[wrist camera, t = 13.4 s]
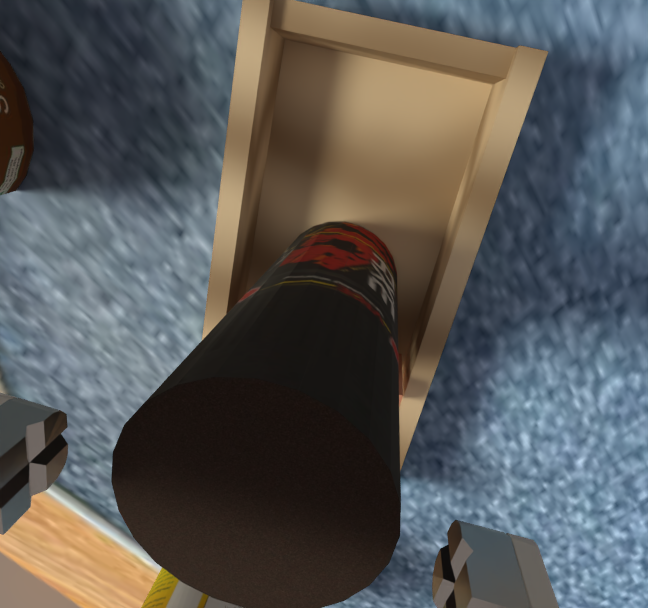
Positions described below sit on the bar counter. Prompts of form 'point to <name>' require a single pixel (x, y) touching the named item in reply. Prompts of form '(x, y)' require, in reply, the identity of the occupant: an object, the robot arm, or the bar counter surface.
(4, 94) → the food container
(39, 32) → the bar counter surface
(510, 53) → the tray
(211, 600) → the supplement bottle
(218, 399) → the deodorant
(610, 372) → the bar counter surface
